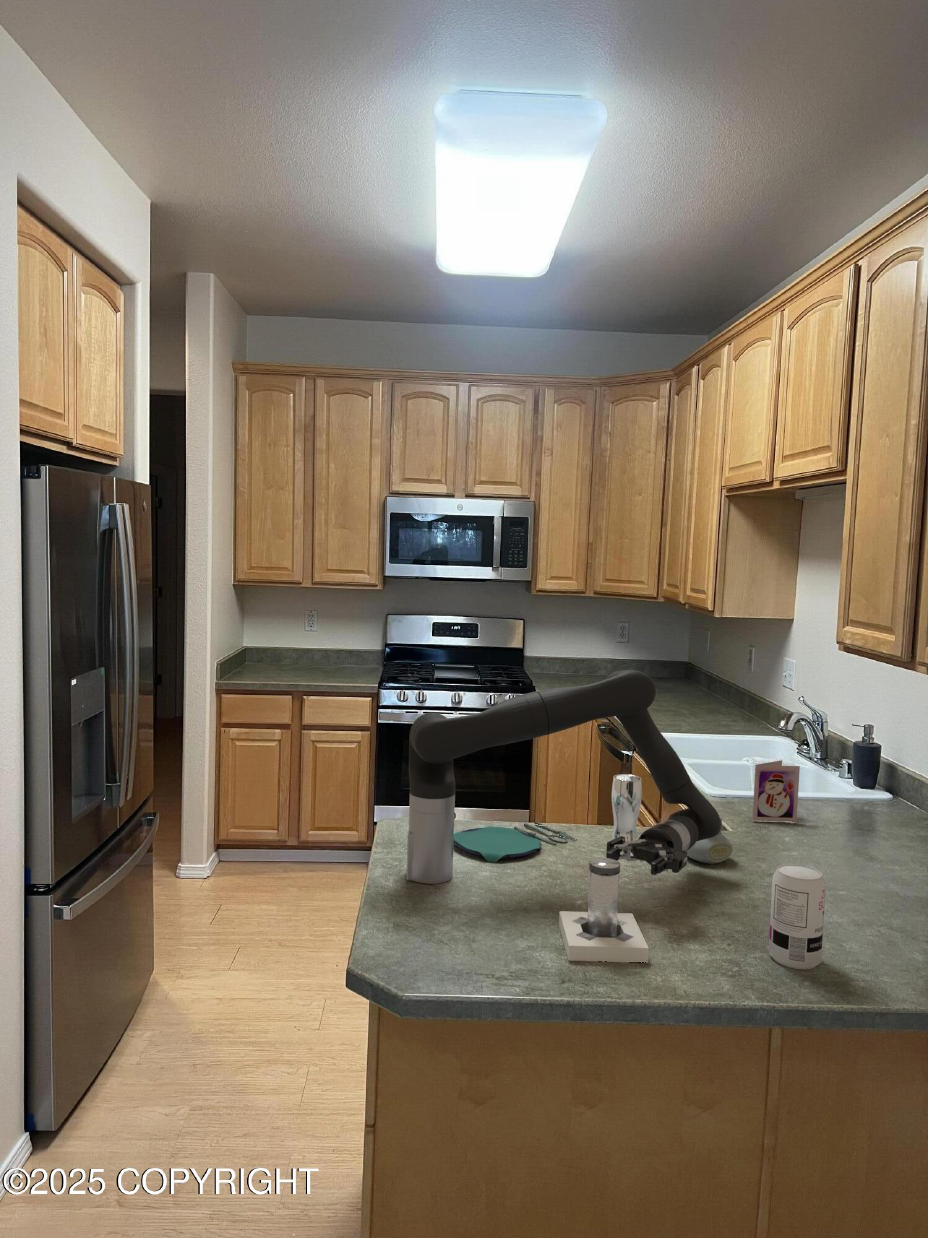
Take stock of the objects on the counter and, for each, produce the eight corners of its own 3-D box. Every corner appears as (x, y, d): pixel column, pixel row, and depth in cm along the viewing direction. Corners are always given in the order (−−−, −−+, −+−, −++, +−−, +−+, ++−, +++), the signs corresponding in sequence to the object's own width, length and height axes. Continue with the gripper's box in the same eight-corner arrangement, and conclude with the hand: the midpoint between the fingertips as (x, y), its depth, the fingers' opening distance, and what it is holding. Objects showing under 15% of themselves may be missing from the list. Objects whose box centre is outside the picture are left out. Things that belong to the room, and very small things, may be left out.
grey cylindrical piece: (588, 949, 145) (591, 867, 144) (584, 936, 150) (587, 857, 149) (619, 950, 145) (622, 868, 144) (613, 937, 150) (617, 858, 149)
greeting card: (753, 823, 222) (756, 765, 221) (743, 815, 229) (746, 759, 228) (797, 824, 222) (801, 767, 221) (786, 816, 229) (789, 760, 228)
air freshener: (712, 851, 199) (714, 808, 198) (738, 862, 191) (740, 818, 191) (674, 856, 194) (676, 812, 193) (699, 868, 187) (701, 823, 186)
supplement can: (760, 949, 147) (764, 863, 146) (806, 948, 148) (811, 863, 147) (781, 971, 139) (786, 880, 138) (830, 971, 140) (836, 880, 139)
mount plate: (568, 960, 141) (568, 945, 140) (558, 925, 155) (559, 911, 154) (648, 963, 141) (648, 948, 140) (631, 927, 155) (632, 913, 154)
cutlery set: (434, 843, 198) (435, 833, 198) (532, 825, 216) (533, 816, 216) (489, 870, 182) (489, 859, 182) (589, 848, 201) (590, 838, 200)
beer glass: (639, 846, 200) (642, 782, 200) (609, 843, 202) (611, 779, 201) (639, 837, 207) (642, 775, 206) (610, 834, 209) (612, 773, 208)
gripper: (632, 816, 173) (595, 835, 160) (701, 831, 165) (669, 852, 152) (630, 853, 173) (593, 875, 160) (699, 870, 165) (666, 894, 152)
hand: (630, 864), depth 156 cm, fingers open, 8 cm apart
